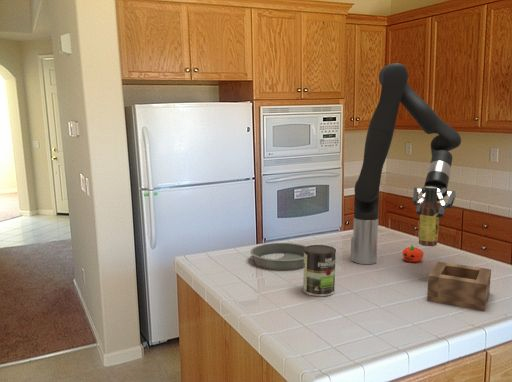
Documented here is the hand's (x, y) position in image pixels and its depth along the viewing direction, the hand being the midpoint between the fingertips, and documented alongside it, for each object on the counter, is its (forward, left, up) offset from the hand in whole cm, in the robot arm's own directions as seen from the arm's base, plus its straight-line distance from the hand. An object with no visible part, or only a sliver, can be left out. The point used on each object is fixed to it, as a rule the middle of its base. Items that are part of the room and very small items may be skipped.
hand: (429, 215), depth 159 cm
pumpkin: (-9, +20, -23) cm, 32 cm away
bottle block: (+12, -11, -23) cm, 28 cm away
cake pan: (-53, -6, -23) cm, 58 cm away
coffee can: (-28, -28, -23) cm, 45 cm away
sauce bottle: (0, +1, -11) cm, 11 cm away
